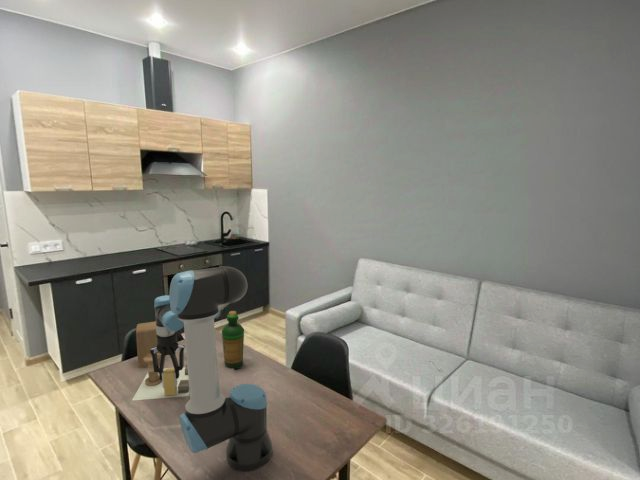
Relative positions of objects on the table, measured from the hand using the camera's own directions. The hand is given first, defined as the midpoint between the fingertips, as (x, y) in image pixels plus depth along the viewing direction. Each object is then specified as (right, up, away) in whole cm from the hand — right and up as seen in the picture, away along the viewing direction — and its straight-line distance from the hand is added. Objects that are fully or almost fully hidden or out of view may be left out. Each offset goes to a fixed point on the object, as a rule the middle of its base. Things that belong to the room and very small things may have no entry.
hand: (170, 385), depth 147 cm
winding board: (-5, -3, +9) cm, 11 cm away
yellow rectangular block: (0, -3, +1) cm, 3 cm away
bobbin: (-11, -2, +9) cm, 14 cm away
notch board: (+3, -2, +11) cm, 11 cm away
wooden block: (-21, 0, +26) cm, 34 cm away
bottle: (+20, -1, +26) cm, 33 cm away
